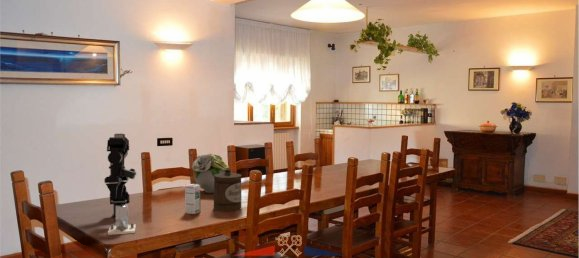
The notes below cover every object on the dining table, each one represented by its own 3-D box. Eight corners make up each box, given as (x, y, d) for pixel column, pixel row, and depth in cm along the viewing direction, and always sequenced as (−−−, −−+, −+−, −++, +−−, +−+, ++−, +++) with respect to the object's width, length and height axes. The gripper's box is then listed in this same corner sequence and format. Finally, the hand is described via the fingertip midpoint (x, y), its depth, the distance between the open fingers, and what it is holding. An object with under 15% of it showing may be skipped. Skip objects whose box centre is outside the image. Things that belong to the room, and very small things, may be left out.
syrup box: (194, 214, 241) (194, 186, 240) (184, 213, 243) (184, 185, 242) (200, 211, 246) (200, 184, 245) (191, 210, 248) (191, 183, 247)
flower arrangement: (184, 194, 292) (184, 154, 290) (203, 187, 315) (203, 150, 314) (221, 197, 284) (221, 156, 283) (237, 189, 308) (237, 152, 307)
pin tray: (110, 228, 213) (110, 221, 213) (135, 226, 216) (135, 220, 216) (107, 234, 203) (107, 227, 203) (134, 233, 206) (134, 226, 206)
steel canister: (116, 227, 211) (116, 205, 211) (128, 226, 213) (128, 204, 212) (115, 230, 206) (115, 207, 206) (128, 229, 208) (127, 207, 207)
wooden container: (232, 212, 246) (232, 170, 244) (208, 209, 252) (208, 168, 251) (246, 206, 259) (246, 167, 258) (223, 204, 265) (223, 165, 264)
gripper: (129, 163, 212) (130, 198, 211) (138, 162, 231) (139, 195, 230) (103, 164, 211) (104, 199, 210) (115, 164, 230) (116, 196, 229)
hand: (117, 197), depth 220 cm, fingers open, 9 cm apart
